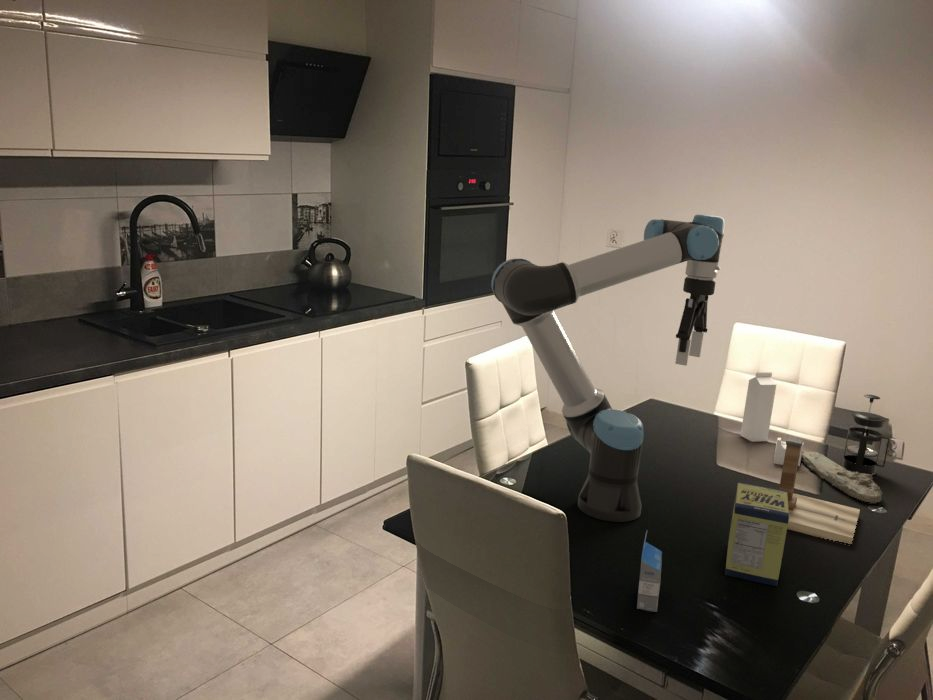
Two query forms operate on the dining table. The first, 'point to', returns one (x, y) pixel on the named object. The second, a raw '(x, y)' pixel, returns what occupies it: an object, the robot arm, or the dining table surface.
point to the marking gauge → (790, 469)
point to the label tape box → (649, 578)
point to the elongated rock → (843, 477)
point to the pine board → (823, 519)
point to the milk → (758, 407)
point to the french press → (864, 442)
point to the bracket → (782, 452)
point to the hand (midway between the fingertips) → (687, 360)
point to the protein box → (757, 533)
